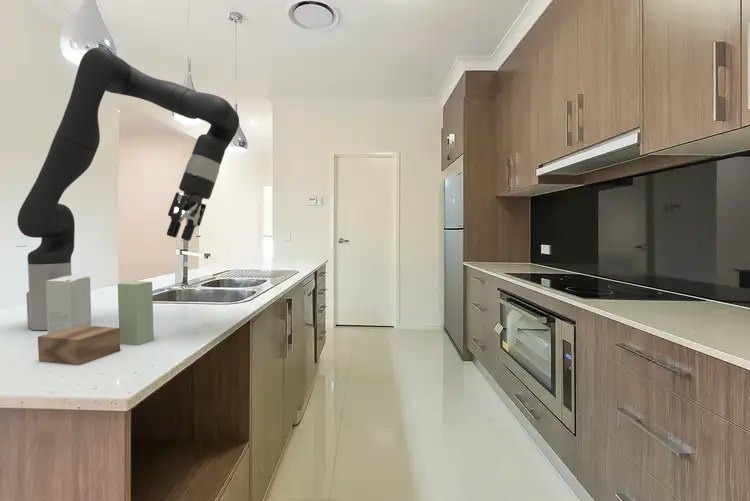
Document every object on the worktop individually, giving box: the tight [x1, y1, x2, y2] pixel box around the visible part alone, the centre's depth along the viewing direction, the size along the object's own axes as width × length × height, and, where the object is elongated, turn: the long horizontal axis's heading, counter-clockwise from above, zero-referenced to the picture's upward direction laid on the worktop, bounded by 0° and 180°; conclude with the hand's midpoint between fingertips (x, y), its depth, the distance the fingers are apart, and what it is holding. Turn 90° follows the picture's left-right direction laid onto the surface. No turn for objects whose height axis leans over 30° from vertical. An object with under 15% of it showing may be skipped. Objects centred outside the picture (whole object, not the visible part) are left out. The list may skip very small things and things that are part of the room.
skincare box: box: [46, 275, 92, 334], centre depth 104 cm, size 8×6×15 cm
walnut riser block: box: [37, 325, 121, 366], centre depth 90 cm, size 10×10×5 cm
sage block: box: [117, 280, 155, 346], centre depth 101 cm, size 5×5×14 cm
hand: (178, 238), depth 106 cm, fingers open, 8 cm apart
